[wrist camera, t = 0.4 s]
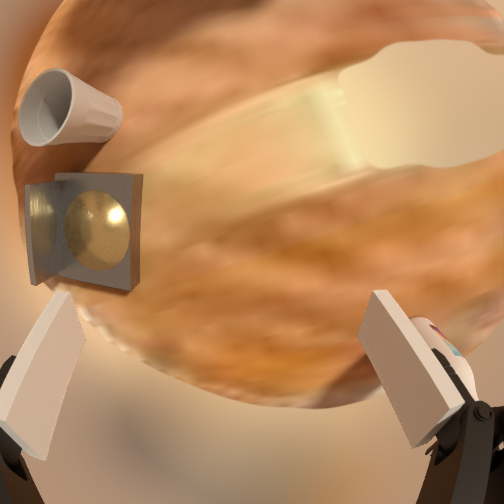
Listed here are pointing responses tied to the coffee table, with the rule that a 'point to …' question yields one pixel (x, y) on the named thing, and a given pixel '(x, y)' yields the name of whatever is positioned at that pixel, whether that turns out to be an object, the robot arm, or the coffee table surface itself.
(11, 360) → the robot arm
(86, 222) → the grey holder block
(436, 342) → the milk bottle
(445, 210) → the coffee table surface
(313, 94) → the coffee table surface
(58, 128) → the cup
